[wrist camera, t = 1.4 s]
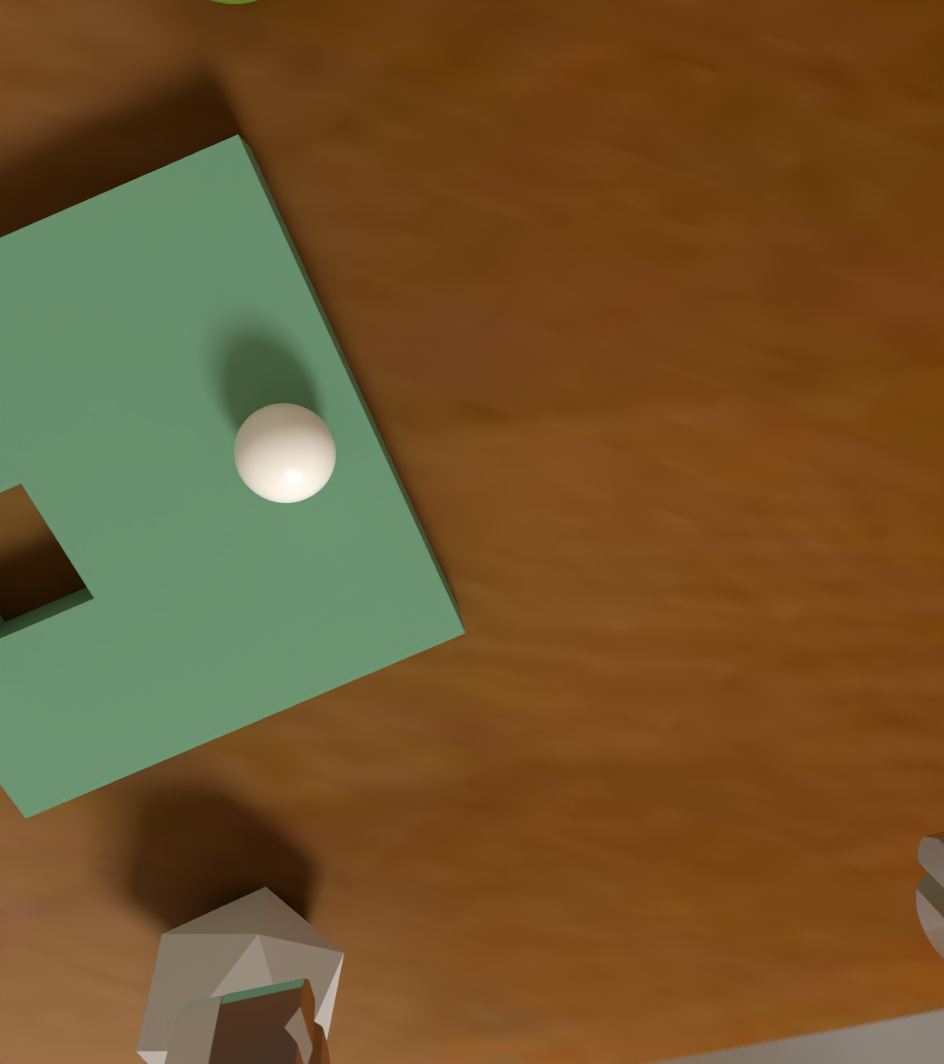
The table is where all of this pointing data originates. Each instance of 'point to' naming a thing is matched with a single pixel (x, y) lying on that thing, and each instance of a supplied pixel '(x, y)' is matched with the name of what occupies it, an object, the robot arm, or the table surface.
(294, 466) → the ball
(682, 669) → the table surface
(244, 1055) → the robot arm
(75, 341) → the green box with hole
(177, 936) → the die
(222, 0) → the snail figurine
